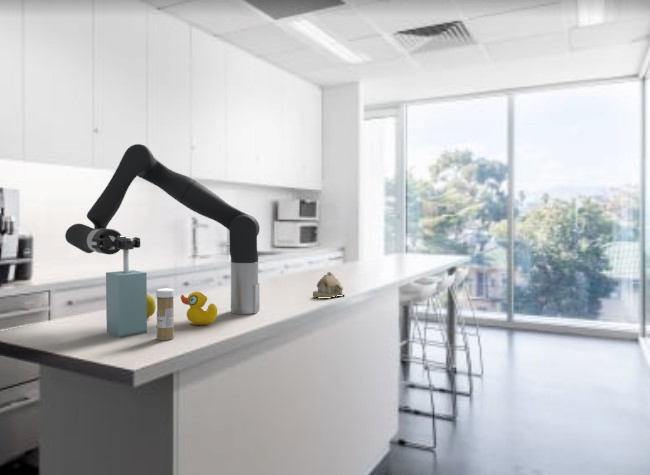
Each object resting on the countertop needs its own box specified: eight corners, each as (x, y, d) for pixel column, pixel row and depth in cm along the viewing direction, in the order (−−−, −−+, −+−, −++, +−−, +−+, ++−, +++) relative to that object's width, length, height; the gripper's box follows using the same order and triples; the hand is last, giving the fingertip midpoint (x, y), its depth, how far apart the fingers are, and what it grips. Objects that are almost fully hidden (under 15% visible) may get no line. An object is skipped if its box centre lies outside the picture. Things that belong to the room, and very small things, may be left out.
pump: (116, 289, 139) (115, 238, 139) (130, 288, 142) (129, 237, 142) (126, 292, 135) (126, 239, 134) (140, 290, 138) (140, 238, 137)
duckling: (177, 325, 149) (177, 292, 148) (184, 321, 154) (184, 289, 154) (213, 327, 147) (213, 294, 147) (219, 323, 153) (219, 291, 152)
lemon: (159, 318, 159) (159, 293, 159) (147, 321, 154) (147, 296, 153) (145, 316, 161) (144, 292, 160) (133, 320, 156) (133, 294, 155)
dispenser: (106, 332, 140) (105, 272, 139) (134, 327, 146) (133, 270, 145) (119, 337, 135) (118, 275, 134) (146, 332, 140) (146, 272, 139)
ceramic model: (325, 292, 212) (325, 269, 211) (348, 295, 206) (349, 271, 205) (308, 297, 199) (308, 273, 199) (332, 300, 194) (332, 275, 193)
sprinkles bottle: (153, 338, 134) (152, 289, 133) (168, 335, 137) (167, 287, 137) (162, 341, 131) (162, 291, 130) (177, 338, 134) (177, 289, 134)
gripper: (79, 229, 143) (104, 231, 132) (127, 228, 154) (154, 230, 142) (80, 254, 144) (104, 259, 132) (127, 252, 154) (154, 256, 142)
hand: (130, 244), depth 137 cm, fingers closed on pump, 4 cm apart
